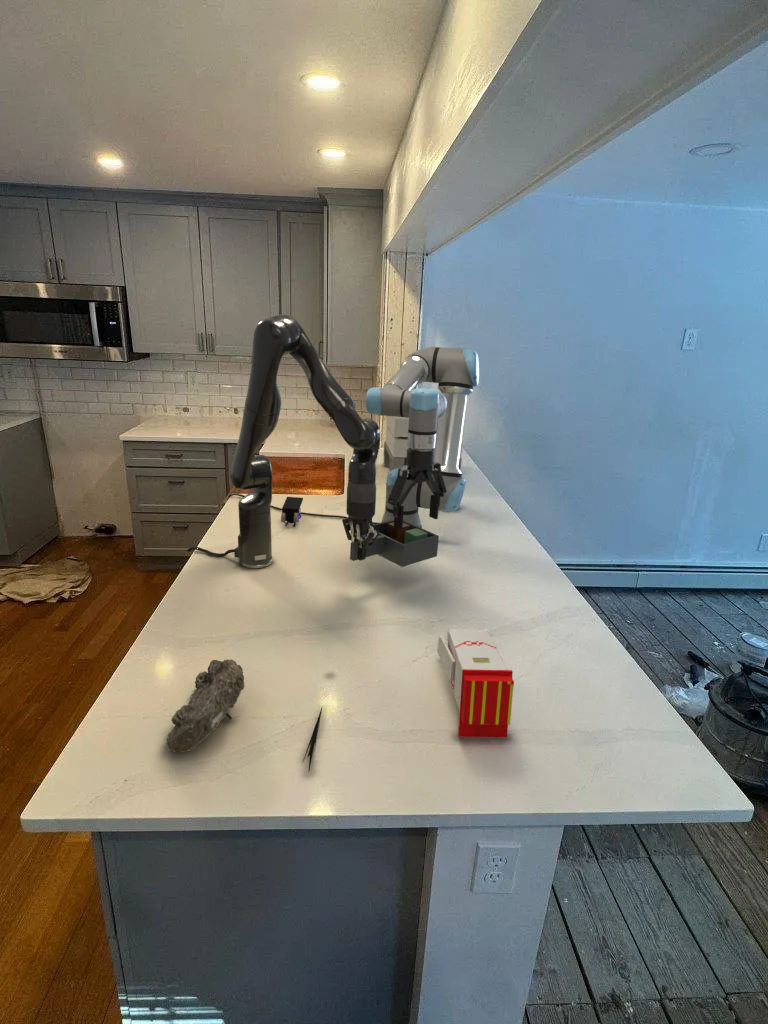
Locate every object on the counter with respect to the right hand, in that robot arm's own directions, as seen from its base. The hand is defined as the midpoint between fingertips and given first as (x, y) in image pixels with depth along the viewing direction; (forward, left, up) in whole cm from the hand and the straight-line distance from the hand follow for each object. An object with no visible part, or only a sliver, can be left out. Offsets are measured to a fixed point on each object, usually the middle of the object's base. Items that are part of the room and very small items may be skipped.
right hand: (416, 522), depth 158 cm
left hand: (-3, -17, -8) cm, 19 cm away
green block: (0, 0, -9) cm, 9 cm away
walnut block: (-7, 0, -9) cm, 11 cm away
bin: (-4, -8, -9) cm, 13 cm away
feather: (+31, -54, -19) cm, 65 cm away
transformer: (-83, +83, -19) cm, 119 cm away
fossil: (+18, -70, -19) cm, 74 cm away
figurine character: (-61, -2, -19) cm, 64 cm away
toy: (+43, -24, -19) cm, 53 cm away
